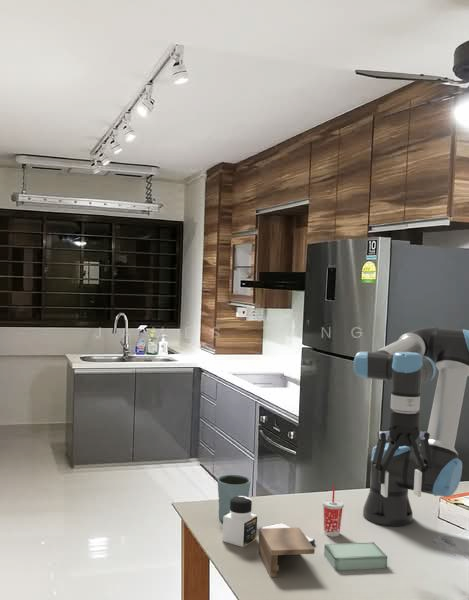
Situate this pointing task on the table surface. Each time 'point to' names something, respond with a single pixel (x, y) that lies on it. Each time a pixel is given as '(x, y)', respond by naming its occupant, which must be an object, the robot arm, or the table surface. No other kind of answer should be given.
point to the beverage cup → (332, 516)
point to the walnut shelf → (281, 546)
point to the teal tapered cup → (231, 491)
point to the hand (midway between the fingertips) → (400, 495)
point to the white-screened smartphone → (281, 525)
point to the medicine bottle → (240, 522)
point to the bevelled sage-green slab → (355, 556)
